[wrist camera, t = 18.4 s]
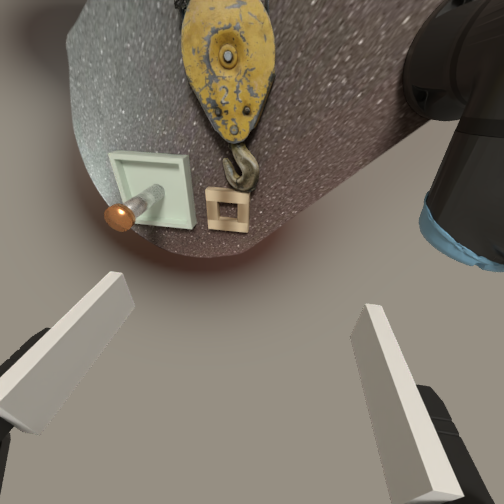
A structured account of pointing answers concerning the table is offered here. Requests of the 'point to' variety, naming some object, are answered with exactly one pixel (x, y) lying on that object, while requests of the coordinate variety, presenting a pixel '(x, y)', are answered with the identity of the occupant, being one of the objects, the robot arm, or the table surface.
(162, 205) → the pale green tray
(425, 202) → the robot arm
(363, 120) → the table surface
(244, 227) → the bracket
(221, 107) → the pulley block
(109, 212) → the steel pin
